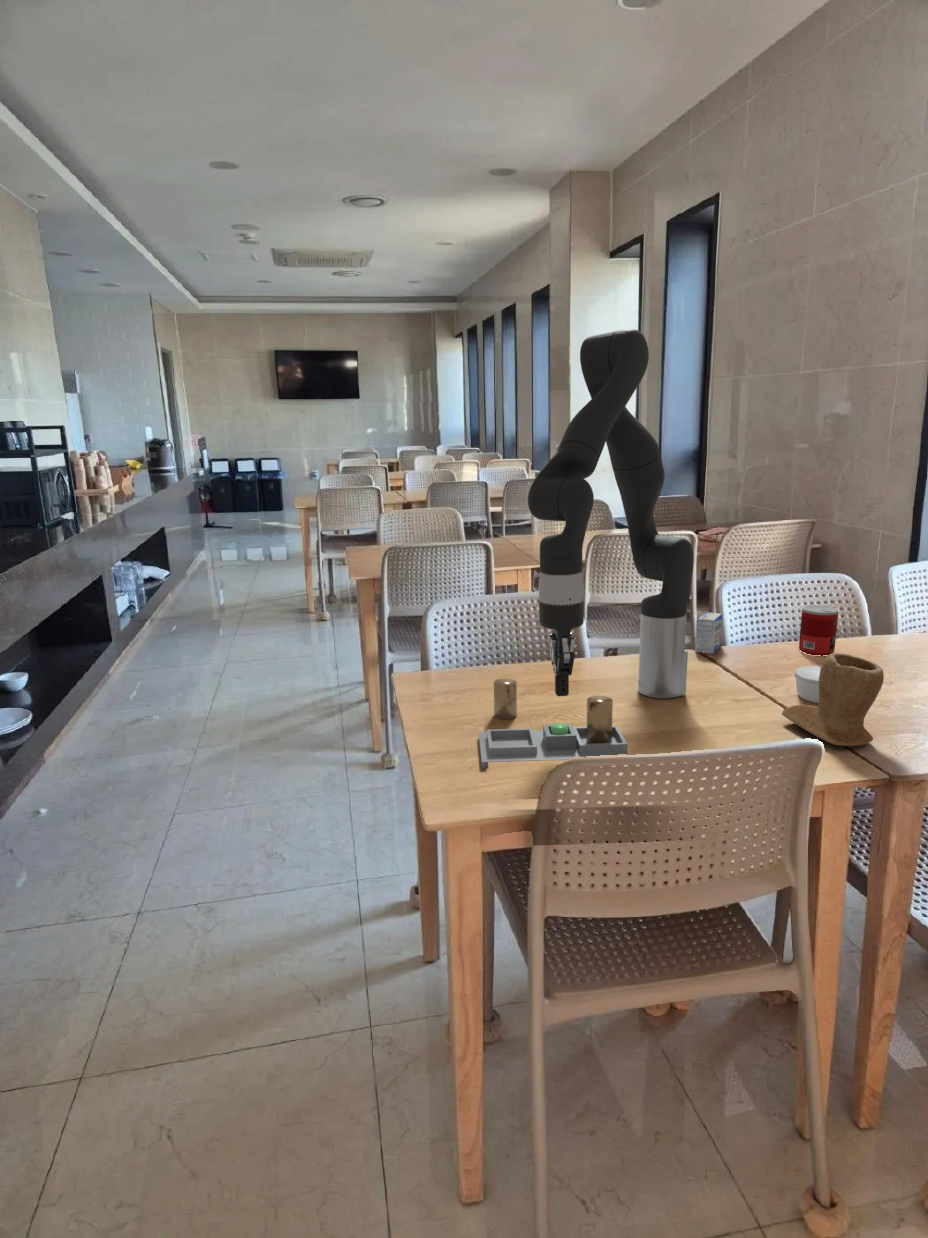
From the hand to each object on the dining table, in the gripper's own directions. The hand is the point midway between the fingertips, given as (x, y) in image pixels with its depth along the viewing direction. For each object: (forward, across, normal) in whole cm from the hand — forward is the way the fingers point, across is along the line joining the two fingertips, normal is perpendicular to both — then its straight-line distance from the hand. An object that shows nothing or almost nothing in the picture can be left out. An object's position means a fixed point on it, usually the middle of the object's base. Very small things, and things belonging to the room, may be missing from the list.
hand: (561, 694), depth 135 cm
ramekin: (+12, +22, -57) cm, 62 cm away
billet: (+10, +14, +9) cm, 20 cm away
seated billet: (+9, 0, -6) cm, 11 cm away
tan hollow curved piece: (+12, +3, -50) cm, 51 cm away
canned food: (+12, +53, -70) cm, 89 cm away
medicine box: (+12, +58, -45) cm, 75 cm away
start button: (+8, 0, 0) cm, 8 cm away
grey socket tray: (+10, 0, +2) cm, 11 cm away
